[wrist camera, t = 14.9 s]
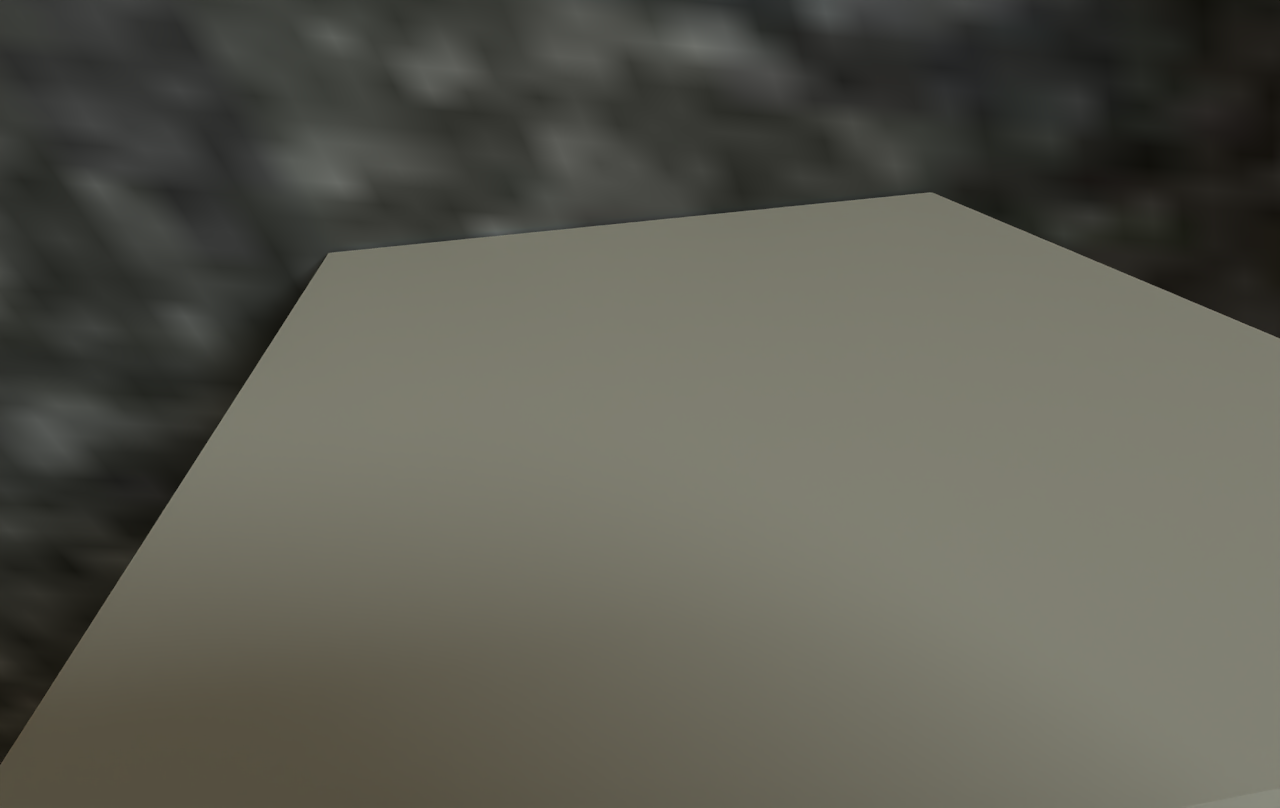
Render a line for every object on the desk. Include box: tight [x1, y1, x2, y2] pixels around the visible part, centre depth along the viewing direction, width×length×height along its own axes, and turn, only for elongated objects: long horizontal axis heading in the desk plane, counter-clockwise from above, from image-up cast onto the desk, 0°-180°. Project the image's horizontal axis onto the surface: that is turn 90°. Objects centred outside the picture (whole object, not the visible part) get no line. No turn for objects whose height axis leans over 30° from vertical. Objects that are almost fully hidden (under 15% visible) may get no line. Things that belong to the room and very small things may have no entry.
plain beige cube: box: [0, 192, 1280, 808], centre depth 8 cm, size 8×8×9 cm
